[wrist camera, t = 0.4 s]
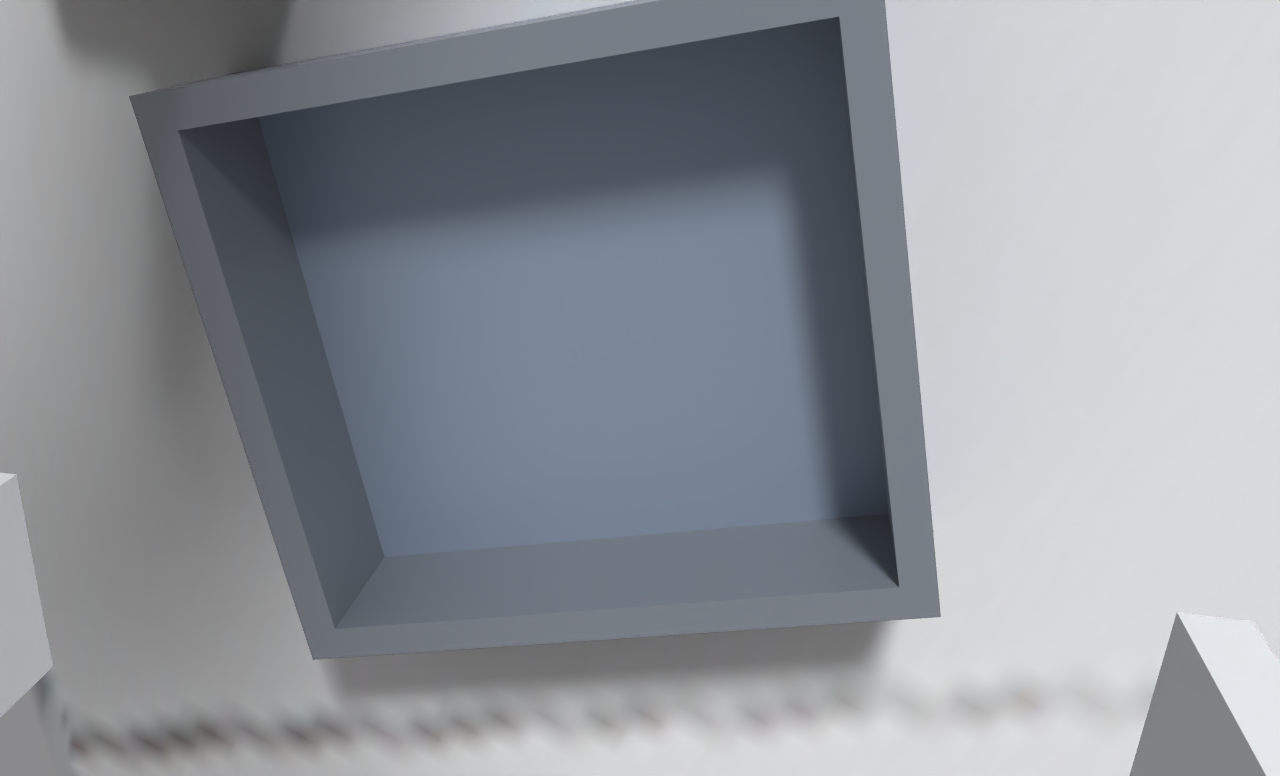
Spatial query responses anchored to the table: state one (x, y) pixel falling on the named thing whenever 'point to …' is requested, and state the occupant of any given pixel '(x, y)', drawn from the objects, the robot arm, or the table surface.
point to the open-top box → (567, 324)
